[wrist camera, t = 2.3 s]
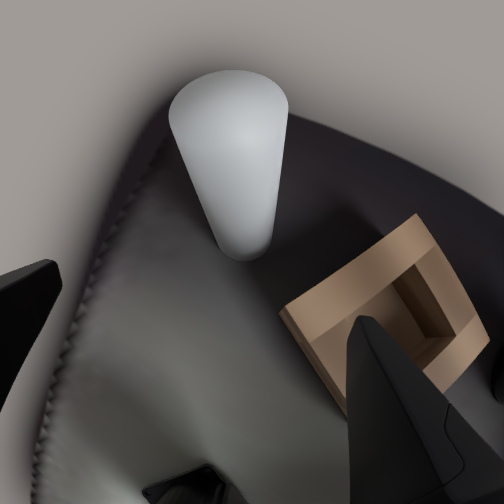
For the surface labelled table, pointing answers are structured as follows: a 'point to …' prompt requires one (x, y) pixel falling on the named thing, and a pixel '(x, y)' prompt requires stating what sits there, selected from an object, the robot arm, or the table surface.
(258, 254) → the peg
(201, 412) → the table surface
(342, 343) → the socket block
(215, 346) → the table surface
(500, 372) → the supplement bottle
